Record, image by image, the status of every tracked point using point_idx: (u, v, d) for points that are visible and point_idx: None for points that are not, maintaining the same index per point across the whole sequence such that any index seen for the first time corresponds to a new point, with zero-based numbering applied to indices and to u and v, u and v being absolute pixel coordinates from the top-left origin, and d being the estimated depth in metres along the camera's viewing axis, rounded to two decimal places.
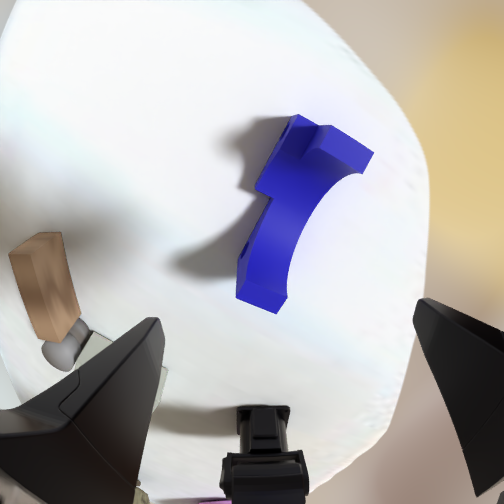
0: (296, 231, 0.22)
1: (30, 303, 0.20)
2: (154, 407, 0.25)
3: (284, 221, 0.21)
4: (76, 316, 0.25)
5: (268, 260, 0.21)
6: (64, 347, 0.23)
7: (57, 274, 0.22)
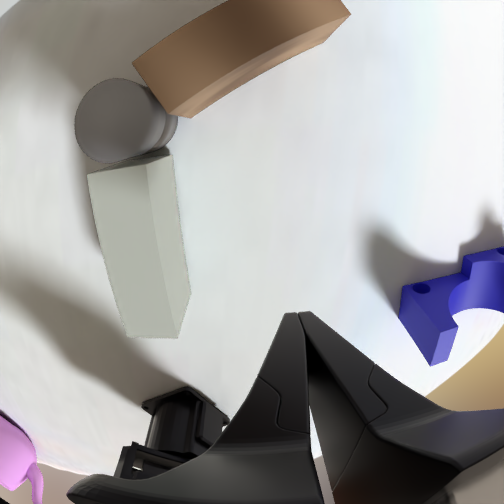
0: (453, 312, 0.19)
1: (229, 22, 0.09)
2: (155, 335, 0.15)
3: (457, 299, 0.19)
4: (192, 114, 0.14)
5: None
6: (152, 124, 0.11)
7: (280, 57, 0.12)
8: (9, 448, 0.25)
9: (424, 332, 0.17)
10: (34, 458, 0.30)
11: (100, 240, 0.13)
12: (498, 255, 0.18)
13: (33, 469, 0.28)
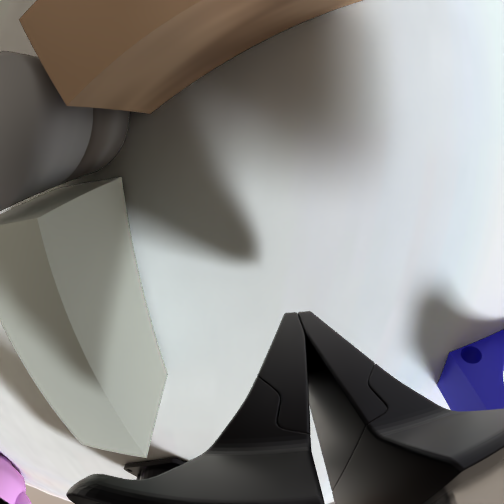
0: None
1: None
2: (116, 451, 0.08)
3: None
4: (148, 105, 0.08)
5: None
6: (49, 132, 0.04)
7: (308, 1, 0.05)
8: None
9: None
10: (22, 487, 0.24)
11: (9, 333, 0.06)
12: None
13: (22, 499, 0.21)
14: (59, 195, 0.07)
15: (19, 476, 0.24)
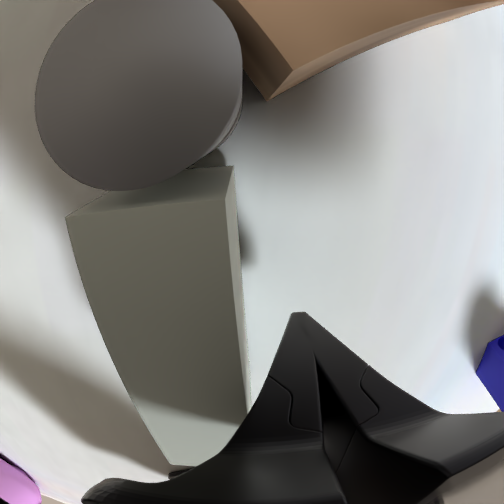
0: None
1: None
2: None
3: None
4: (278, 92, 0.07)
5: None
6: (239, 95, 0.04)
7: (429, 24, 0.05)
8: (11, 492, 0.18)
9: None
10: (39, 499, 0.23)
11: (110, 351, 0.06)
12: None
13: None
14: (177, 179, 0.07)
15: (35, 487, 0.24)
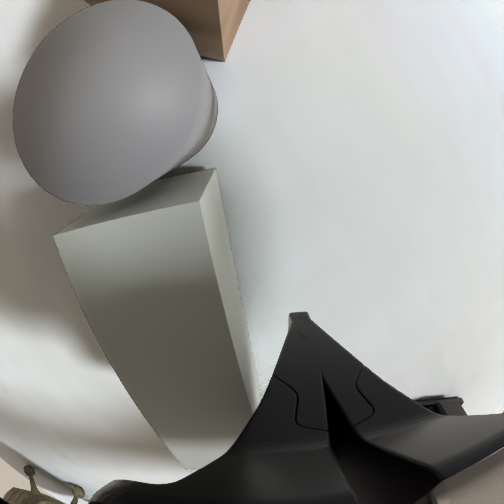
0: None
1: None
2: None
3: None
4: (226, 45, 0.07)
5: None
6: (203, 99, 0.04)
7: None
8: None
9: None
10: None
11: (112, 361, 0.06)
12: None
13: None
14: (160, 187, 0.07)
15: None
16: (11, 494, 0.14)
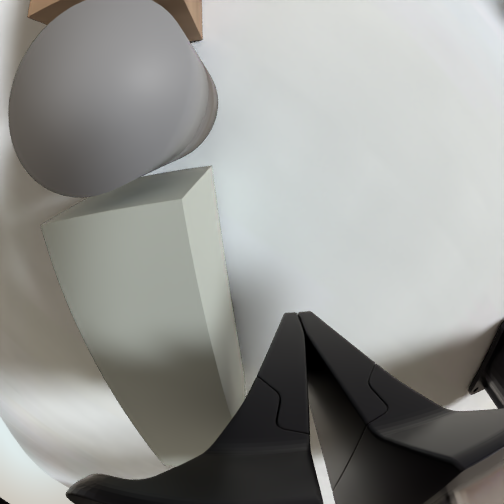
0: None
1: None
2: None
3: None
4: (197, 21, 0.06)
5: None
6: (193, 95, 0.04)
7: None
8: None
9: None
10: None
11: (93, 352, 0.06)
12: None
13: None
14: (152, 182, 0.07)
15: None
16: None
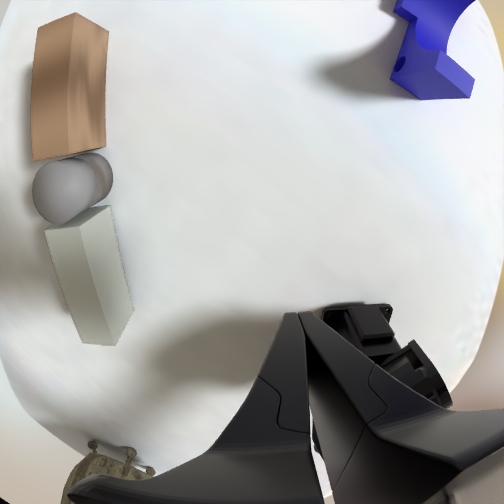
0: (442, 49, 0.14)
1: (42, 91, 0.12)
2: (100, 343, 0.19)
3: (431, 38, 0.13)
4: (99, 143, 0.17)
5: None
6: (82, 196, 0.15)
7: (92, 66, 0.14)
8: None
9: (435, 84, 0.13)
10: None
11: (57, 275, 0.16)
12: None
13: None
14: (83, 215, 0.18)
15: None
16: (77, 464, 0.28)
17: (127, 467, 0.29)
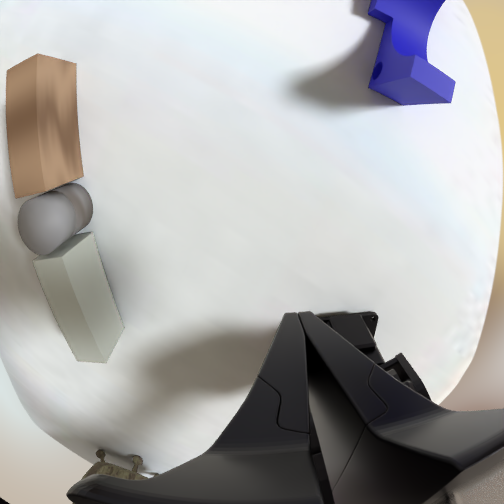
0: (422, 49, 0.14)
1: (16, 132, 0.12)
2: (93, 361, 0.19)
3: (409, 38, 0.14)
4: (76, 174, 0.18)
5: None
6: (61, 229, 0.16)
7: (61, 102, 0.14)
8: None
9: (413, 90, 0.13)
10: None
11: (48, 300, 0.17)
12: None
13: None
14: (67, 243, 0.18)
15: None
16: None
17: (133, 474, 0.30)
